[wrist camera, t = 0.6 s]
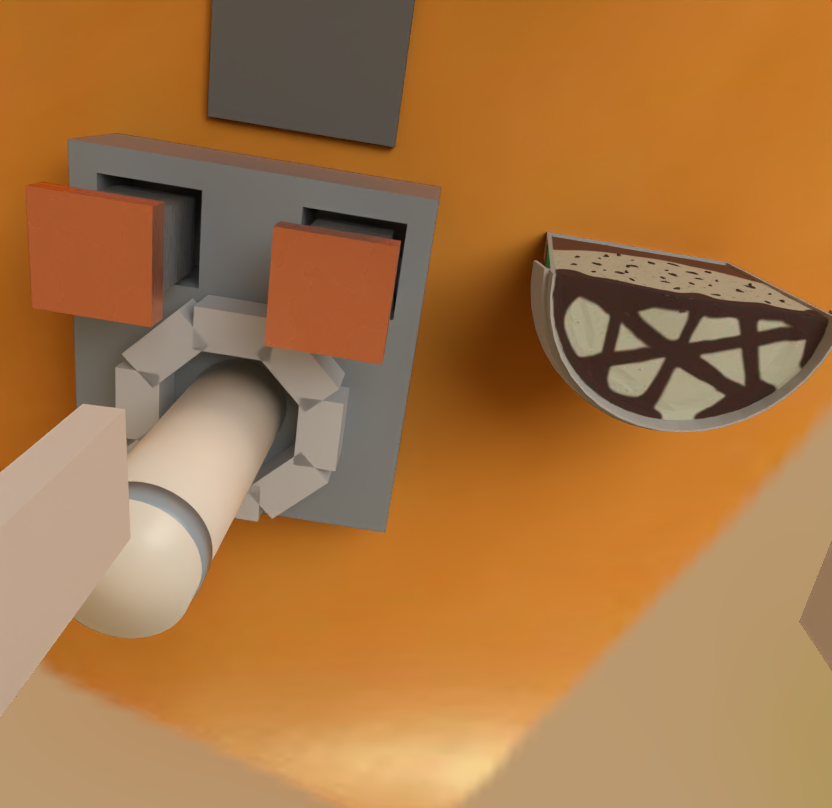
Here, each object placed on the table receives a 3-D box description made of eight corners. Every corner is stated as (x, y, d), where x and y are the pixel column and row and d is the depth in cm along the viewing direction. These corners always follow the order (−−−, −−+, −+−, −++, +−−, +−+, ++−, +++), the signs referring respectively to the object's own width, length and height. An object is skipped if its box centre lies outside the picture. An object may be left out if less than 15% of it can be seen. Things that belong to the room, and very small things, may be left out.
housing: (117, 133, 36) (43, 141, 29) (441, 186, 36) (438, 207, 30) (119, 442, 42) (59, 504, 36) (392, 485, 43) (381, 554, 36)
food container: (493, 342, 39) (505, 418, 30) (517, 226, 37) (539, 271, 27) (719, 379, 39) (801, 467, 30) (758, 267, 37) (860, 325, 28)
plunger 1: (106, 168, 32) (25, 185, 26) (209, 185, 33) (152, 206, 26) (107, 269, 34) (32, 308, 28) (205, 285, 34) (151, 327, 28)
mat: (218, -105, 32) (216, -108, 31) (424, -70, 32) (423, -72, 31) (210, 115, 35) (207, 116, 35) (394, 146, 35) (394, 147, 35)
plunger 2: (307, 201, 33) (273, 226, 26) (408, 218, 33) (398, 246, 27) (298, 300, 34) (264, 345, 28) (394, 316, 35) (381, 364, 28)
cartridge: (193, 350, 35) (39, 503, 22) (291, 366, 35) (195, 527, 22) (189, 438, 36) (46, 627, 24) (283, 453, 37) (190, 649, 24)
